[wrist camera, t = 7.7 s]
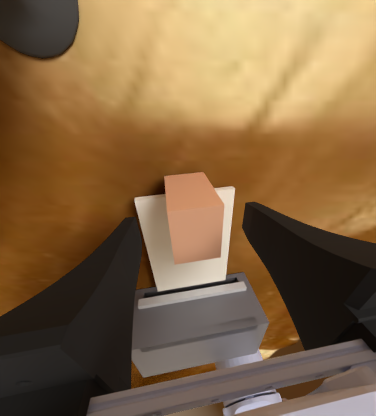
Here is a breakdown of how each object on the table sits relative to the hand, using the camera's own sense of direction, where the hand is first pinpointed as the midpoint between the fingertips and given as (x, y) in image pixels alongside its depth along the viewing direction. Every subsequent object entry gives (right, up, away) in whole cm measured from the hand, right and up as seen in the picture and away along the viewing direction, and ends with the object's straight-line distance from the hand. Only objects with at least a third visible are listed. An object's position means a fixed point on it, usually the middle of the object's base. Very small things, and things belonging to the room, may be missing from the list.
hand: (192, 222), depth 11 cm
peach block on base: (0, -2, +5) cm, 6 cm away
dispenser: (0, -12, +12) cm, 17 cm away
